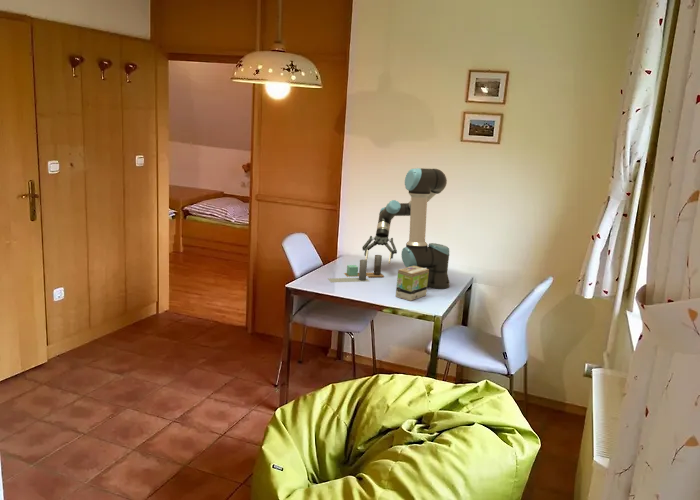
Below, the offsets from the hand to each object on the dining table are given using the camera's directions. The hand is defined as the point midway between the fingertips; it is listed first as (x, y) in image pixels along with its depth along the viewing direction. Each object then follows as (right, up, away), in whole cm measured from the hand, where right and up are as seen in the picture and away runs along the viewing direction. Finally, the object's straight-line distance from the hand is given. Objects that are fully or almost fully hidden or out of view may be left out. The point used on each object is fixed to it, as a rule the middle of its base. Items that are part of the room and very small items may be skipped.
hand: (377, 261), depth 355 cm
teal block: (-15, -7, -4) cm, 17 cm away
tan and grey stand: (-8, -8, -2) cm, 12 cm away
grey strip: (-17, -11, -15) cm, 25 cm away
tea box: (+16, -18, -33) cm, 41 cm away
